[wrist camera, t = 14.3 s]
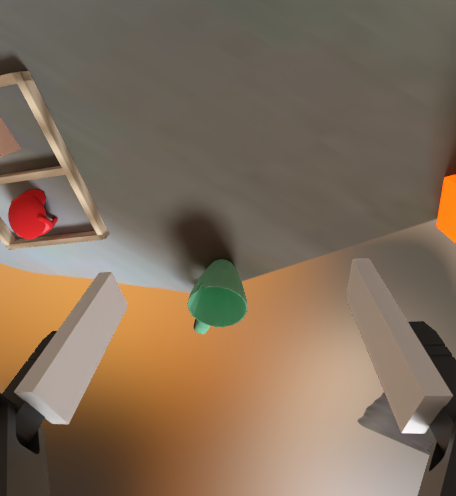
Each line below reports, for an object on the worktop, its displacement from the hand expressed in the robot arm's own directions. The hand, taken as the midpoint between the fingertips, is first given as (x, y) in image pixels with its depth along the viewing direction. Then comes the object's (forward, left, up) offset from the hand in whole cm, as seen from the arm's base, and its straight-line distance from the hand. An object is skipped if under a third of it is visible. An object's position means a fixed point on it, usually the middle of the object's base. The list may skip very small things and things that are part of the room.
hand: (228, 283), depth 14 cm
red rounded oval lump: (+5, -36, -28) cm, 46 cm away
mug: (+24, -8, -28) cm, 38 cm away
